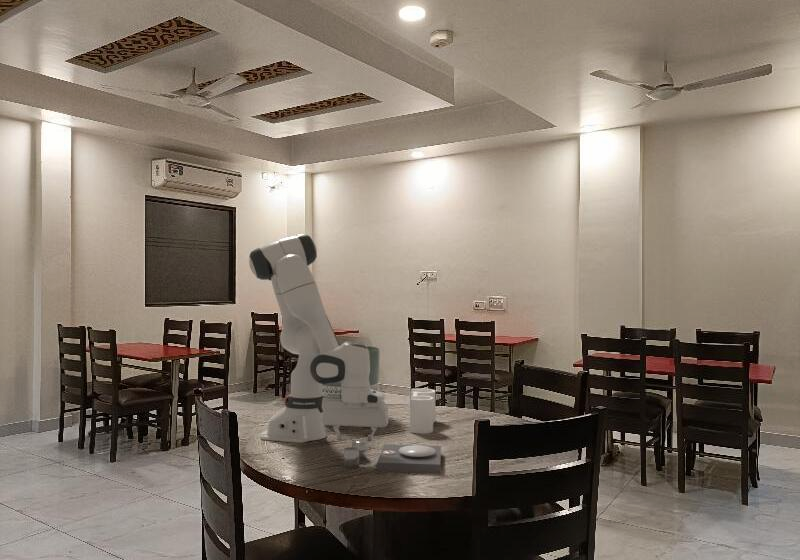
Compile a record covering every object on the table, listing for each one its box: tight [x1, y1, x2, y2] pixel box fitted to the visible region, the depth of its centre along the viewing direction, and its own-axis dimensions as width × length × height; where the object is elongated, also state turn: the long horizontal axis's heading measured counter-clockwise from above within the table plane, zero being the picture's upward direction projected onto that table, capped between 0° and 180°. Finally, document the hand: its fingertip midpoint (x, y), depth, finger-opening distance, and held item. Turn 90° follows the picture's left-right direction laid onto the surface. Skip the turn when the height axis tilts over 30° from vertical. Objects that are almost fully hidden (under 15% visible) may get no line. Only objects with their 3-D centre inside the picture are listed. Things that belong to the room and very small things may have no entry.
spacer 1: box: [343, 446, 360, 469], centre depth 183 cm, size 4×4×5 cm
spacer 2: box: [351, 439, 367, 461], centre depth 192 cm, size 4×4×5 cm
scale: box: [376, 443, 442, 474], centre depth 188 cm, size 18×20×4 cm
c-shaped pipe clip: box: [409, 387, 436, 434], centre depth 237 cm, size 25×10×12 cm, turn 176°
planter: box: [323, 344, 380, 398], centre depth 254 cm, size 27×27×27 cm
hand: (355, 440), depth 191 cm, fingers open, 8 cm apart
